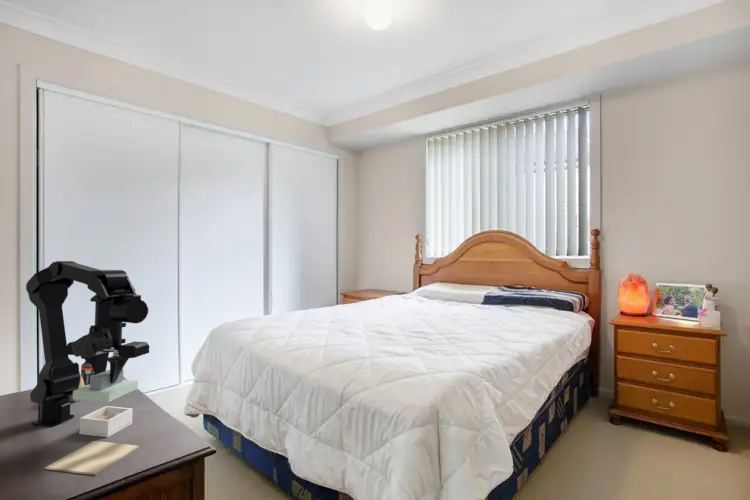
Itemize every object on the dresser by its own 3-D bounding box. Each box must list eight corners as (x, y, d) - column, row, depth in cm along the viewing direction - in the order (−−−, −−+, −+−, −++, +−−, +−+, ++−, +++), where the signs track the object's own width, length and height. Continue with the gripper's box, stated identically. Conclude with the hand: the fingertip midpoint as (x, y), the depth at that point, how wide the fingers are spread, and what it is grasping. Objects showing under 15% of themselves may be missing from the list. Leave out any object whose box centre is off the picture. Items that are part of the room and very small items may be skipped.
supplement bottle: (90, 394, 125) (91, 358, 125) (75, 392, 126) (76, 357, 126) (106, 388, 131) (108, 354, 131) (91, 386, 132) (93, 352, 132)
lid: (72, 399, 93) (73, 377, 94) (104, 386, 103) (105, 366, 103) (108, 401, 92) (109, 379, 92) (137, 388, 102) (138, 368, 102)
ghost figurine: (59, 400, 119) (60, 374, 119) (78, 395, 124) (79, 370, 124) (69, 404, 116) (71, 377, 116) (89, 398, 121) (90, 373, 121)
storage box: (79, 433, 98) (80, 418, 98) (105, 420, 106) (106, 406, 106) (107, 437, 97) (108, 420, 97) (132, 423, 105) (132, 408, 105)
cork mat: (45, 469, 82) (45, 467, 82) (93, 442, 94) (93, 440, 94) (95, 475, 81) (95, 473, 81) (138, 447, 92) (138, 445, 92)
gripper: (44, 324, 91) (42, 391, 91) (117, 327, 89) (115, 396, 88) (85, 317, 102) (83, 376, 102) (151, 319, 100) (149, 381, 99)
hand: (106, 382), depth 98 cm, fingers closed on lid, 3 cm apart
